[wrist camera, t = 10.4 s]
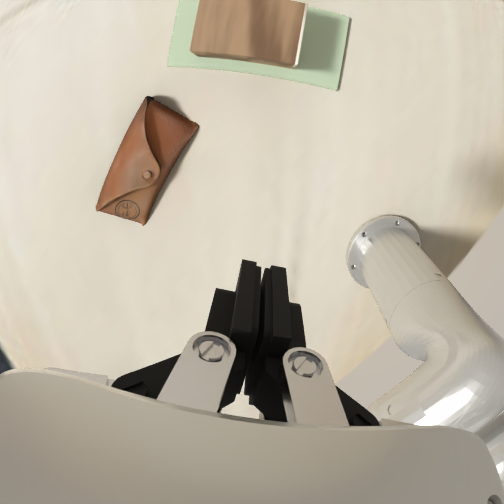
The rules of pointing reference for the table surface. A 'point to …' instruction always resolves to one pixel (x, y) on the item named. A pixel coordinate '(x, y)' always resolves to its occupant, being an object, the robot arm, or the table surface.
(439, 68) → the table surface
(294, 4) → the walnut block
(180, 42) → the felt mat
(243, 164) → the table surface
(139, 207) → the sunglasses case
